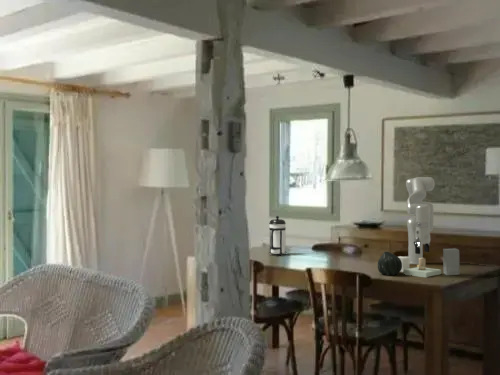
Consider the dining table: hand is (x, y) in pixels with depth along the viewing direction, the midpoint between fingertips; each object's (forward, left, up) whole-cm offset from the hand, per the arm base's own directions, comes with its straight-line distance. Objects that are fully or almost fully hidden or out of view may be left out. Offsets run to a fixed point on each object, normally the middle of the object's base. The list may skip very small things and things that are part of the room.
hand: (422, 252), depth 391 cm
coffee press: (-127, -2, -14) cm, 128 cm away
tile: (-10, +12, -13) cm, 21 cm away
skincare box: (+13, +12, -14) cm, 22 cm away
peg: (0, -1, -13) cm, 13 cm away
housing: (-15, 0, -13) cm, 20 cm away
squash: (-13, -15, -14) cm, 24 cm away
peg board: (+1, -1, -13) cm, 13 cm away
